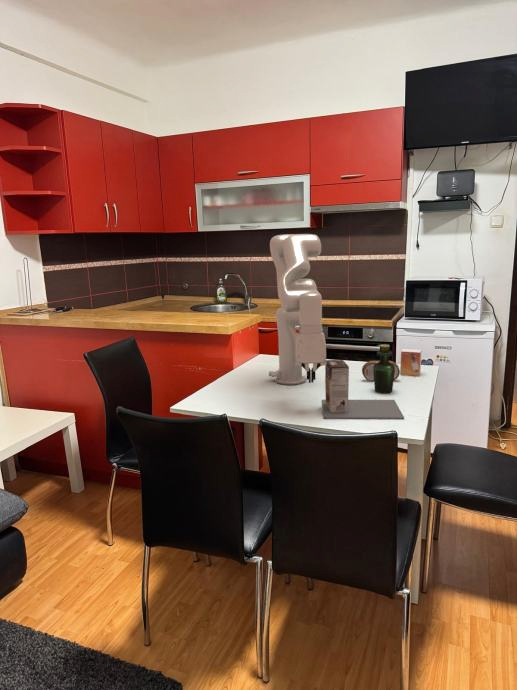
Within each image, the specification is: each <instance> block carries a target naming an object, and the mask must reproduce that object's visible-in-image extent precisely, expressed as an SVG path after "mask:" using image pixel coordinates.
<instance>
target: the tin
mask: <svg viewBox="0 0 517 690" xmlns="http://www.w3.org/2000/svg"><path fill="white" fill-rule="evenodd" d="M378 362H380V360H369V361H366V363H364V364H363V366H362V368H361V373H362V375H363V377H364V379H366V381H369V382H374V371H373V366H374V365H375V364H376V363H378ZM388 362H390V363H392V364H393V365H394V367H395V373H394V381H396V380H397V379H398V378H399V376H400V367H399V365H398V364H397V363H396V362H395V361H392V360H388Z"/></svg>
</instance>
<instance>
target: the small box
mask: <svg viewBox="0 0 517 690" xmlns="http://www.w3.org/2000/svg"><path fill="white" fill-rule="evenodd" d="M421 366H422V349H411V348H409V349H408V348H402V349H401V352H400V367H399V370H400V373H399V376H411V377H420V375H421V368H422V367H421Z"/></svg>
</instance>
